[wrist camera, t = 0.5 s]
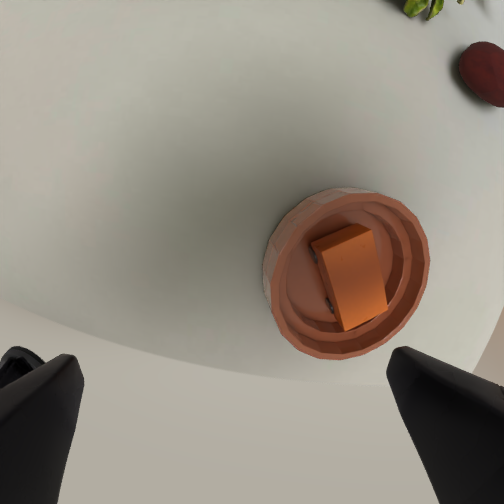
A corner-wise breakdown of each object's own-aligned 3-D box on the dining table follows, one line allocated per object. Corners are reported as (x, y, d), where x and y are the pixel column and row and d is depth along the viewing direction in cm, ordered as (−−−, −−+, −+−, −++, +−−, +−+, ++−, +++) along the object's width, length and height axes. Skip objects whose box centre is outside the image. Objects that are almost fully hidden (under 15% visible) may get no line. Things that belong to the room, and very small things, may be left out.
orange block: (371, 292, 24) (390, 309, 21) (329, 313, 24) (343, 332, 21) (353, 219, 22) (373, 228, 19) (304, 240, 22) (318, 253, 19)
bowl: (410, 295, 26) (434, 314, 22) (291, 353, 26) (302, 383, 22) (383, 165, 21) (413, 168, 17) (235, 224, 22) (239, 239, 18)
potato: (502, 109, 21) (540, 109, 15) (455, 108, 20) (500, 105, 15) (487, 52, 18) (522, 45, 13) (435, 41, 18) (475, 26, 12)
